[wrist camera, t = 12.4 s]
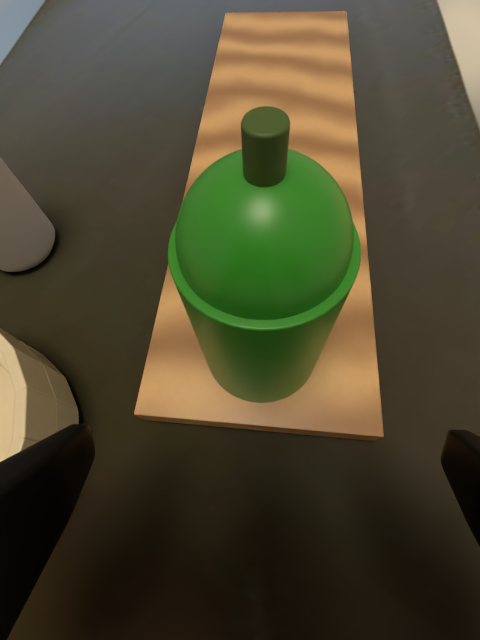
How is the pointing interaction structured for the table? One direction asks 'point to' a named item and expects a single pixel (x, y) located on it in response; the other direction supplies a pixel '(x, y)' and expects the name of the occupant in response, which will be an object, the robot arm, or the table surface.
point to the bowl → (30, 397)
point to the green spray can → (264, 260)
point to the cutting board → (344, 165)
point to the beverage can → (21, 226)
